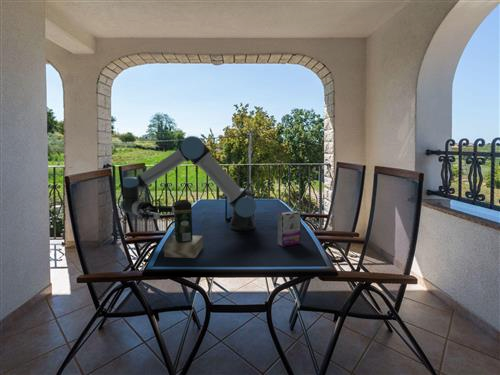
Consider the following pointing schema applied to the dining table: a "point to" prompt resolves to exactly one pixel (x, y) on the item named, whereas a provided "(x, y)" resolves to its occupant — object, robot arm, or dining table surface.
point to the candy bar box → (289, 228)
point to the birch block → (183, 247)
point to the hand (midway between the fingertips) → (170, 213)
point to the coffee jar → (183, 221)
